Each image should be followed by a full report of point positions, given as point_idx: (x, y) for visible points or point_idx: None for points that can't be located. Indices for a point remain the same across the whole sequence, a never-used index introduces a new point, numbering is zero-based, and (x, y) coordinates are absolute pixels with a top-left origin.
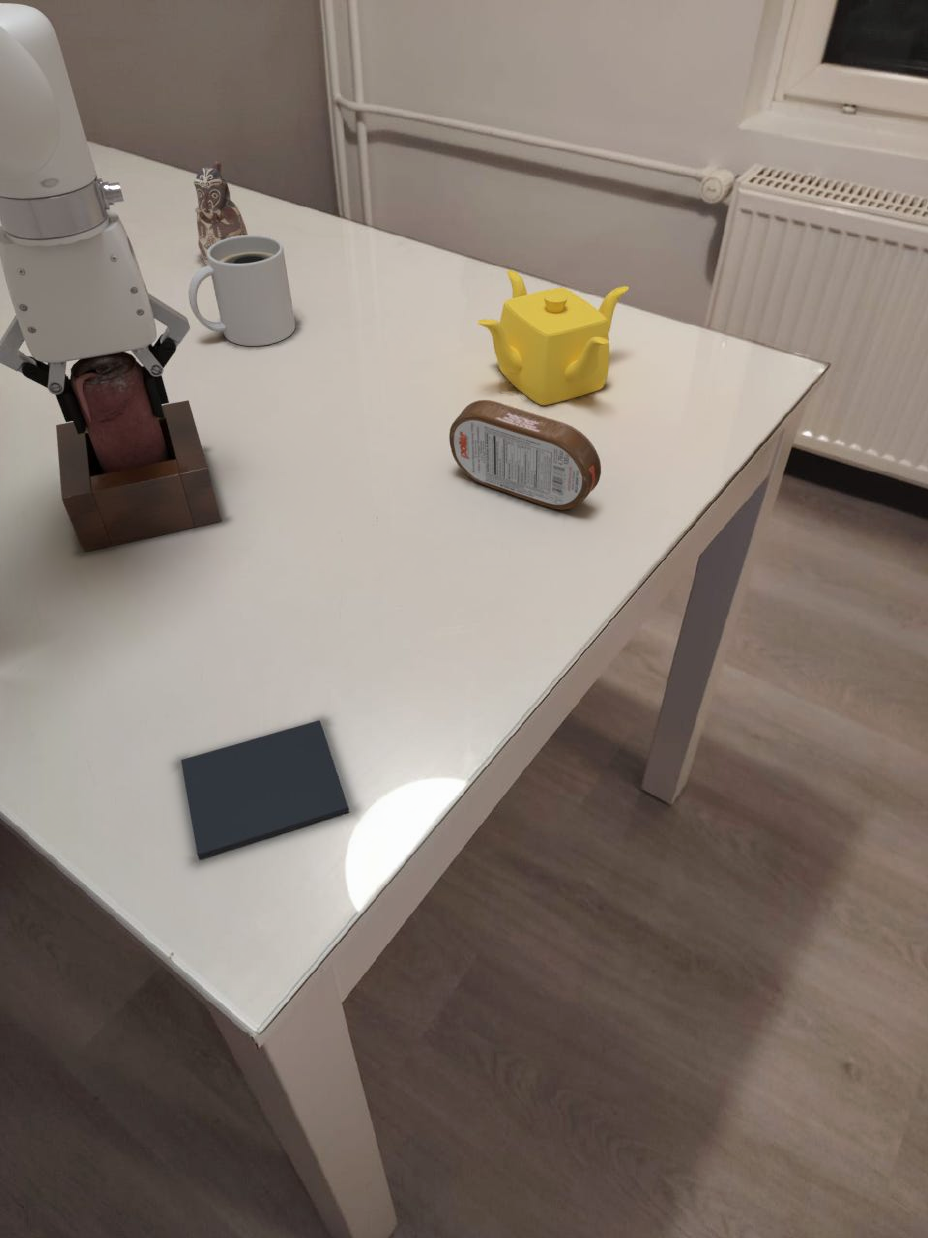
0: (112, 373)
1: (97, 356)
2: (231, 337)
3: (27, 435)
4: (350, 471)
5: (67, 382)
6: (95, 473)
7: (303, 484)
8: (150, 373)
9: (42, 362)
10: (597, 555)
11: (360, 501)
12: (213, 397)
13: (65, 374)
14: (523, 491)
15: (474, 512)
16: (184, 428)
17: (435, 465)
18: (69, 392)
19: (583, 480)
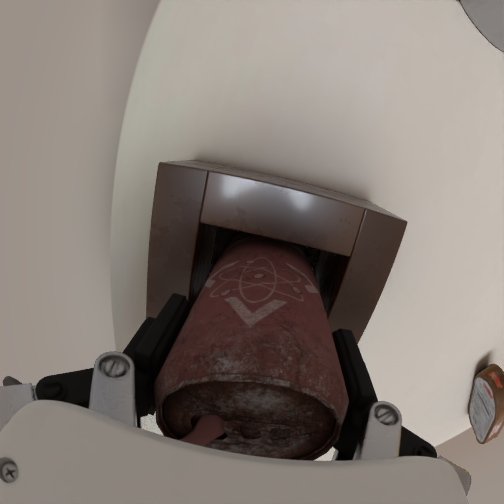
0: (258, 446)
1: (251, 373)
2: (467, 7)
3: (167, 31)
4: (448, 328)
5: (148, 402)
6: (202, 262)
7: (412, 328)
8: (335, 450)
9: (80, 402)
10: (444, 433)
11: (422, 368)
12: (427, 84)
13: (142, 388)
14: (473, 399)
15: (449, 398)
16: (357, 307)
17: (481, 348)
18: (153, 412)
19: (475, 433)
